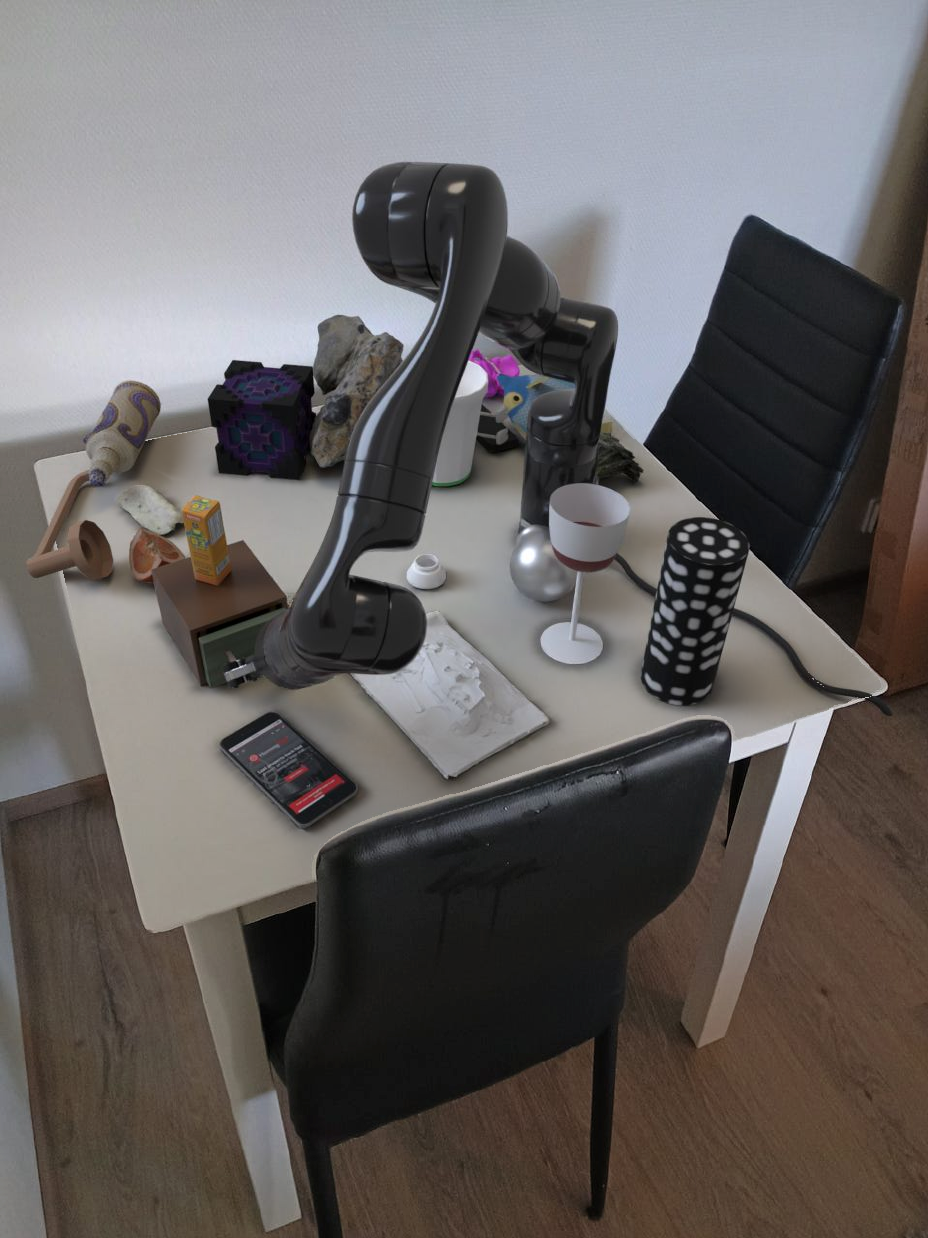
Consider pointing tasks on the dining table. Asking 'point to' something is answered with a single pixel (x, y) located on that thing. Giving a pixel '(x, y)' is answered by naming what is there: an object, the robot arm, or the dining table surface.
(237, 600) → the cabinet
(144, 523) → the white oblong lump
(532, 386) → the decorative fish sculpture
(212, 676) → the drawer
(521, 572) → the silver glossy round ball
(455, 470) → the cup
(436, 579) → the white jar
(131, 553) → the fruit slice
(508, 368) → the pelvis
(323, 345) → the rock
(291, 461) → the energy cube
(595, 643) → the wineglass
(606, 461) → the mineral specimen
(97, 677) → the dining table surface
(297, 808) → the smartphone
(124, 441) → the decorative bottle
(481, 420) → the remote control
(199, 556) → the supplement box
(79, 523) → the long-stemmed smoking pipe
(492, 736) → the terrain model
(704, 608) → the white-spotted black cylinder
